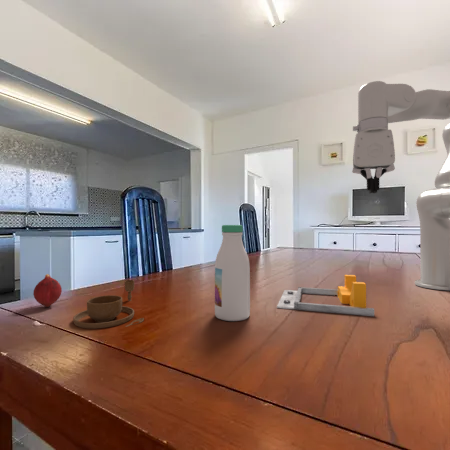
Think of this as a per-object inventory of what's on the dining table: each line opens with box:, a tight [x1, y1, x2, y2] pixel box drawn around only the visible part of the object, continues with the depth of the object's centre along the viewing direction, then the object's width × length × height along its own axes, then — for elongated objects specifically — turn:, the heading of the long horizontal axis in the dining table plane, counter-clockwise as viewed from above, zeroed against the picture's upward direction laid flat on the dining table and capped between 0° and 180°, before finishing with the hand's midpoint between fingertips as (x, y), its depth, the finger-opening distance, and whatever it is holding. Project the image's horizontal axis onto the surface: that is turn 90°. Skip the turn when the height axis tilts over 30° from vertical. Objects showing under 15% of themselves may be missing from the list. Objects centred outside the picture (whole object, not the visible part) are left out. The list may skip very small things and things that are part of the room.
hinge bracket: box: [276, 286, 375, 317], centre depth 73 cm, size 18×21×2 cm
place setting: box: [72, 279, 145, 330], centre depth 63 cm, size 18×20×6 cm
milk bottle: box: [214, 224, 251, 322], centre depth 61 cm, size 8×8×20 cm
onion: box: [32, 273, 63, 308], centre depth 69 cm, size 6×6×8 cm
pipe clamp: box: [337, 274, 367, 308], centre depth 71 cm, size 12×4×6 cm, turn 167°
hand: (373, 192), depth 80 cm, fingers closed
